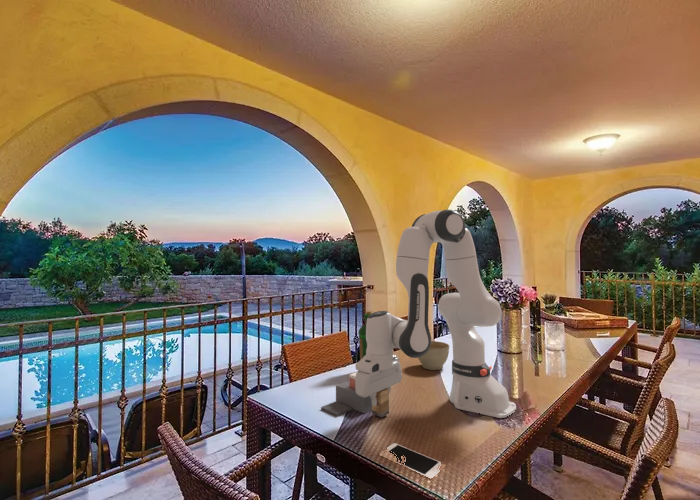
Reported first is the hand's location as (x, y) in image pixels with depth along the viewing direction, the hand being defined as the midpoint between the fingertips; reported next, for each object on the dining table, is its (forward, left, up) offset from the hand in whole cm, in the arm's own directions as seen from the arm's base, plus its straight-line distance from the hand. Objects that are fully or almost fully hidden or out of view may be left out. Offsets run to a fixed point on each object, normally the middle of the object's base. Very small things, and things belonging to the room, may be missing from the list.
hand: (380, 402), depth 116 cm
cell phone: (-22, +14, -5) cm, 27 cm away
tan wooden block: (0, 0, -4) cm, 4 cm away
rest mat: (+14, +7, -4) cm, 16 cm away
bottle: (+32, -32, -5) cm, 45 cm away
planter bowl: (+15, -58, -5) cm, 60 cm away
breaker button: (+12, -3, +1) cm, 12 cm away
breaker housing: (+12, -3, -4) cm, 13 cm away
